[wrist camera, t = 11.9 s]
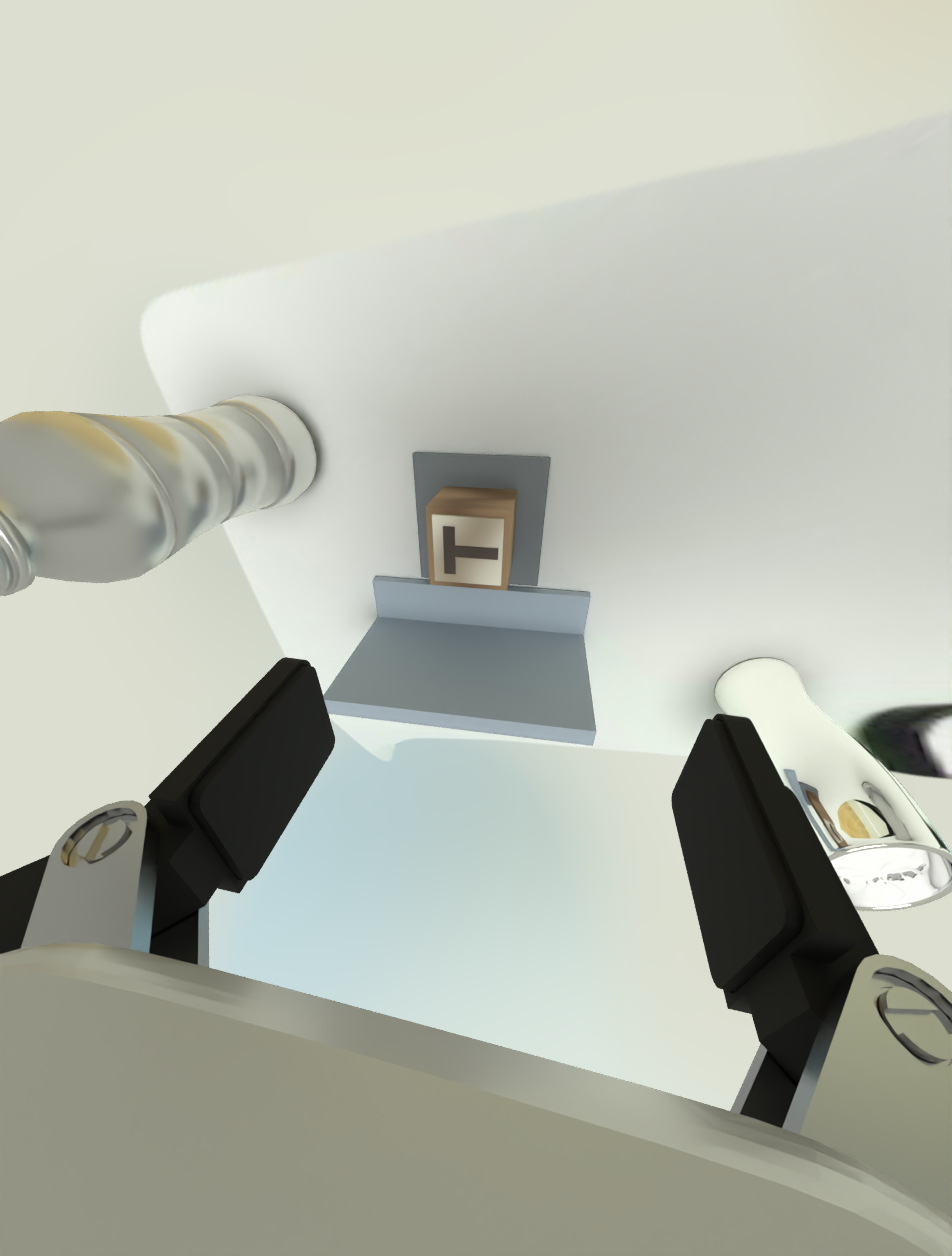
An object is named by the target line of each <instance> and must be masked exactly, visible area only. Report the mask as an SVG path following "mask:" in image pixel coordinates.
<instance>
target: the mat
mask: <svg viewBox="0 0 952 1256" xmlns="http://www.w3.org/2000/svg"><path fill="white" fill-rule="evenodd" d="M413 466H414V480H415V493H416V507H417V521H418V535H419V549H420V563H421V577H425V578H430V577H429V559H428V542H427V524H426V506H427V505H428V503H429V502H430V501H431V500H432V499H433V498H434V497H435V496H436V495H437V493H438V492H439V491H440V490H441V489H442V488H443V487H444V486H455V487H475V488H495V489H515V490H518V491H517V506H516V521H515V536H514V551H513V562H512V567H511V573H510V578H509V583H508V584H518V585H531V586H537V583H538V573H539V563H540V554H541V544H542V534H543V524H544V515H545V505H546V495H547V485H548V476H549V466H550V457H536V456H509V455H481V454H454V453H426V452H414V453H413Z"/></svg>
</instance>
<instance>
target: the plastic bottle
mask: <svg viewBox="0 0 952 1256" xmlns="http://www.w3.org/2000/svg"><path fill="white" fill-rule="evenodd" d="M316 463H317V462H316V452H315V447H314V443H313V441H312V438H311V436H310V433H309V432H308V430H307V428H306V427H305V425H304V423H303V422H302V421H301V420H300V418H299V417H298V416H297V415H296V414H295V413H294V412H293V411H292V410H290V409H289V408H288V407H286V406H285V405H283V404H282V403H280V402H277V401H275V400H272V399H268V398H264V397H260V396H254V395H239V396H236V397H233V398H230V399H227V400H224V401H222V402H219V403H217V404H215V405H213V406H211V407H209V408H205V409H201V410H196V411H192V412H188V413H184V414H180V415H168V416H142V417H127V416H114V415H100V414H87V413H74V412H62V411H53V412H52V411H51V412H50V411H49V412H45V411H41V412H40V411H38V412H37V411H34V412H23V413H19V414H17V415H15V416H12V417H10V418H8V419H6V420H4V421H1V422H0V596H2V595H3V596H6V595H10V594H13V593H15V592H18V591H20V590H22V589H25V588H27V587H28V586H29V585H31V584H32V582H33V580H34V579H35V576H38V577H44V578H51V579H58V580H64V581H75V582H91V583H109V582H114V581H120V580H126V579H131V578H135V577H139V576H141V575H143V574H144V573H146V572H147V571H149V570H151V569H153V568H154V567H156V566H158V565H159V564H161V563H163V562H164V561H165V560H166V559H167V558H169V557H170V556H172V555H173V554H175V553H176V552H177V551H179V550H180V549H181V548H183V547H184V546H186V545H187V544H188V543H190V542H191V541H192V540H193V539H195V538H196V537H198V536H199V535H201V534H203V533H205V532H206V531H208V530H210V529H212V528H214V527H215V526H217V525H219V524H221V523H223V522H225V521H226V520H228V519H230V518H232V517H236V516H239V515H242V514H245V513H248V512H251V511H255V510H258V509H268V508H273V507H277V506H281V505H285V504H289V503H291V502H292V501H294V500H296V499H297V498H298V497H299V496H300V495H301V494H302V493H303V492H304V491H305V490H306V489H307V488H308V487H309V486H310V484H311V482H312V481H313V478H314V475H315V472H316Z"/></svg>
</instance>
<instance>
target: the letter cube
mask: <svg viewBox="0 0 952 1256" xmlns="http://www.w3.org/2000/svg"><path fill="white" fill-rule="evenodd" d="M517 491H518V490H515V489H495V488H475V487H455V486H444V487H443V488H442V489H441V490H440V491H439V492H438V493H437V495H436V496H435V497H434V498H433V499H432V500H431V501H430V502H429V503H428V505H427V506H426V524H427V542H428V559H429V577H430V585H442V586H455V587H467V588H480V589H492V590H505V591H507V589H508V583H509V578H510V573H511V567H512V562H513V551H514V536H515V521H516V506H517Z"/></svg>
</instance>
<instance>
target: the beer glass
mask: <svg viewBox="0 0 952 1256" xmlns="http://www.w3.org/2000/svg"><path fill="white" fill-rule="evenodd" d="M715 698H716V701H717V702H718V704H719V706H720V707H721V708H722V709H723V711H724V712H725V713H726V714H727V715H733V716H740V717H747V718H749V719H750V720H751V721H752V723H753V724H754V726H755V728H756V730H757V732H758V734H759V736H760V738H761V740H762V742H763V744H764V746H765V748H766V750H767V752H768V754H769V756H770V758H771V760H772V762H773V764H774V766H775V768H776V770H777V771H778V773H779V775H780V777H781V779H782V781H783V783H784V785H785V786H787V787H788V788H789V789H790V790H792V791H793V793H794V794H795V796H796V797H797V799H798V800H799V802H800V804H801V806H802V808H803V810H804V812H805V814H806V815H807V817H808V819H809V821H810V823H811V825H812V827H813V829H814V831H815V833H816V835H817V836H818V838H819V840H820V842H821V844H822V846H823V848H824V850H825V852H826V854H827V855H828V857H829V859H830V861H831V863H832V865H833V867H834V869H835V871H836V873H837V875H838V876H839V878H840V880H841V882H842V884H843V886H844V888H845V890H846V892H847V894H848V895H849V897H850V899H851V901H852V903H853V905H854V907H855V909H856V910H860V911H889V910H899V909H905V908H911V907H915V906H919V905H923V904H926V903H929V902H932V901H935V900H937V899H939V898H942V897H943V896H945V895H947V894H949V893H950V892H952V851H951V850H950V849H949V847H948V846H947V844H946V843H945V842H944V840H943V839H942V837H941V836H940V834H939V833H938V832H937V830H936V829H935V827H934V826H933V825H932V823H931V822H930V821H929V819H928V818H927V817H926V815H925V814H924V812H923V811H922V809H921V808H920V807H919V806H918V804H917V803H916V802H915V801H914V799H913V798H912V797H911V796H910V794H909V793H908V792H907V790H906V789H905V788H904V787H903V786H902V784H901V783H900V782H899V781H898V780H897V779H896V778H895V777H894V776H893V775H892V773H891V772H890V771H889V770H888V769H887V768H886V767H885V766H884V765H883V764H882V763H881V762H880V761H879V760H878V759H877V758H876V757H875V756H874V755H873V754H872V753H871V752H870V751H868V750H867V749H866V748H865V747H864V746H863V745H862V744H861V743H859V742H858V741H857V740H856V739H855V738H854V737H852V736H851V735H850V734H849V733H848V732H846V731H845V730H844V729H843V728H842V727H840V726H839V725H838V724H837V723H836V722H834V721H833V720H832V719H831V718H830V717H828V716H827V715H826V714H825V713H824V712H823V711H822V710H820V709H819V708H818V707H817V705H816V704H815V703H814V702H813V701H812V700H811V698H810V697H809V696H808V694H807V692H806V690H805V688H804V685H803V683H802V681H801V678H800V676H799V674H798V673H797V671H796V670H795V669H794V668H793V667H792V666H791V665H789V664H788V663H786V662H784V661H781V660H778V659H772V658H759V659H753V660H748V661H745V662H742V663H740V664H738V665H736V666H734V667H732V668H730V669H729V670H728V671H726V672H725V673H724V674H723V675H722V676H721V677H720V679H719V680H718V682H717V684H716V687H715Z"/></svg>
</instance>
